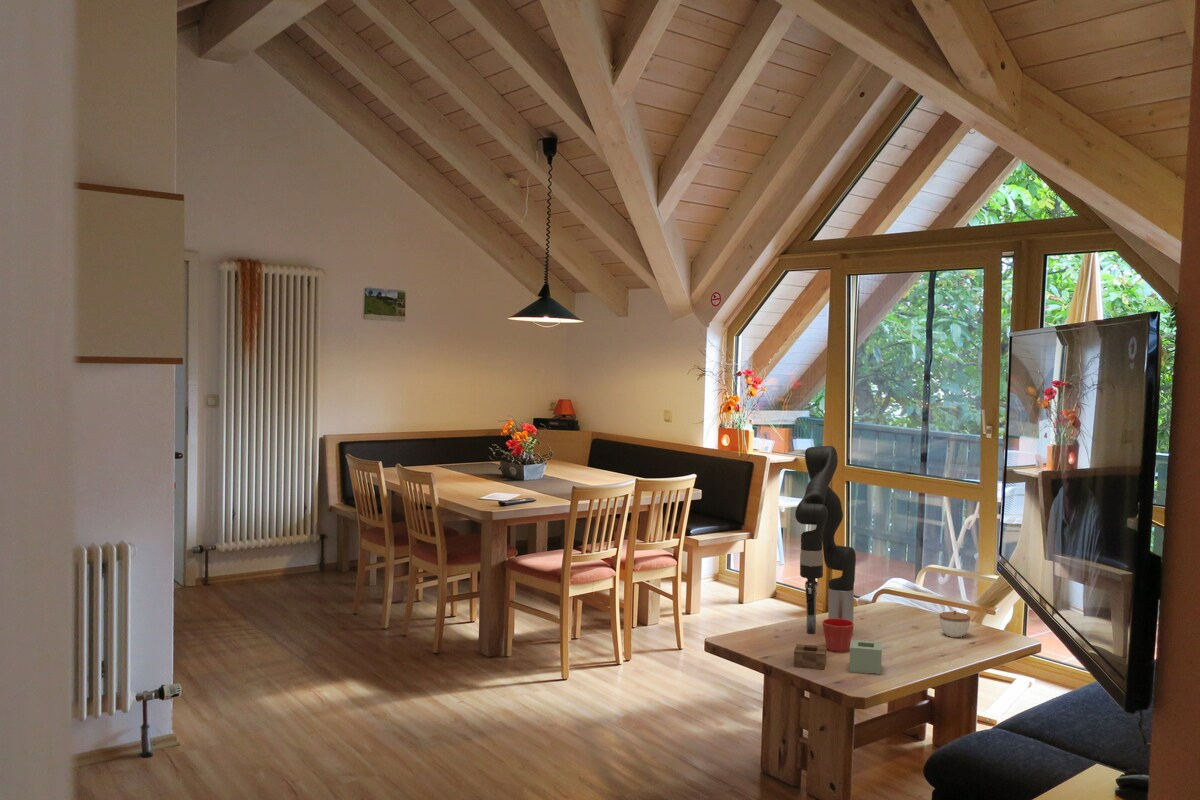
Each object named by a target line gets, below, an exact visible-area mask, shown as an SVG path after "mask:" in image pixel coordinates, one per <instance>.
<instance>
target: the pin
mask: <svg viewBox="0 0 1200 800" xmlns="http://www.w3.org/2000/svg"><path fill="white" fill-rule="evenodd" d="M814 594H815V592H814ZM809 600H812V598H809ZM816 607H817V596H816V597H815V604H814V615H808V614H807V613H806V634H808V635H815V634H816V632H817V629H816V628H817V626H816V625H817V623H816V621H817V617H816V616H817V609H816Z"/></svg>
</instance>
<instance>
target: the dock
mask: <svg viewBox="0 0 1200 800" xmlns="http://www.w3.org/2000/svg"><path fill="white" fill-rule="evenodd" d="M882 647H883V643H882V641H872V640H871V641H870V640H859V639H851V643H850V648H849V673H860V674H868V673H876V674H875V675H879V674H881V675H882V667H883V666H882V662H883V661H882V658H883V657H882V656H883V654H882V653H883V652H882V649H883V648H882Z"/></svg>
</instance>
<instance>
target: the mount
mask: <svg viewBox="0 0 1200 800" xmlns="http://www.w3.org/2000/svg"><path fill="white" fill-rule="evenodd" d="M827 650H828V649H827V646H826V645H815V644H805V643H804V644H803V643H796V645H795V647H794V651H793V667H794V668H804V669H817V670H826V669H825V668H826V664H827Z"/></svg>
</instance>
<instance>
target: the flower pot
mask: <svg viewBox="0 0 1200 800" xmlns="http://www.w3.org/2000/svg"><path fill="white" fill-rule="evenodd" d="M822 629H823V633H824V640H825V646H827V650H829V651H832V652H834V653H835V652H836V653H846V652H848V651H850V643H851V640H852V636H853V635H852V632H853V633H854V621H853V622H852V621H849V620H846V619H837V618H832V619H828V618H826V619H823V620H822Z"/></svg>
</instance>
